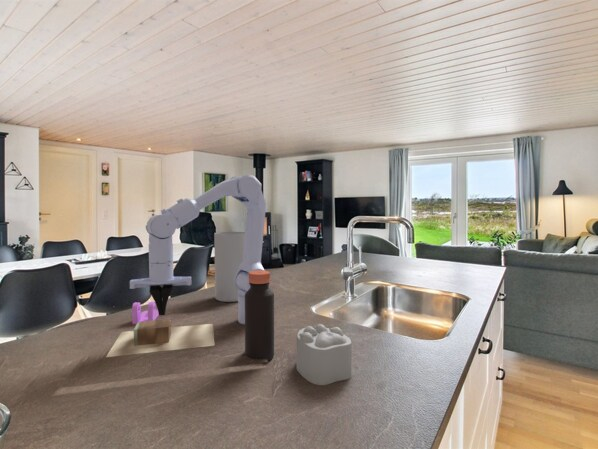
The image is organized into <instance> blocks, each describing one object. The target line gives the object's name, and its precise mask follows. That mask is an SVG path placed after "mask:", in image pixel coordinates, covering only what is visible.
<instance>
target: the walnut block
mask: <svg viewBox="0 0 598 449" xmlns="http://www.w3.org/2000/svg"><path fill="white" fill-rule="evenodd" d="M171 322H172V320H171V319H169V318H168V319H157V320H156V319H155V320H154V321H142V322H138V323H137V324H135V327H134V328H133V331H134V346H138V345H148V344H158V343H168V342H169V340H170V336H171V327H172V324H171Z"/></svg>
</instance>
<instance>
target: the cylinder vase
mask: <svg viewBox="0 0 598 449" xmlns="http://www.w3.org/2000/svg"><path fill="white" fill-rule="evenodd" d="M213 239H214V298H215V300H216V301H218V302H222V303H235V302H238V288H237V287H236V285H235V276H236V275H237V273H238V269H239V265H240V264H241V263H242V261H243V253H244V242H245V231H219V232H214V238H213Z"/></svg>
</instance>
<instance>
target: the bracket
mask: <svg viewBox="0 0 598 449" xmlns="http://www.w3.org/2000/svg"><path fill="white" fill-rule="evenodd" d="M131 307H132V308H131V314H132V316H131V319H132V325H137V323H138V322H142V321H154V320H156V319H157V318H158V317H159V313H158V309H156V308H157V306H156V303H155V301H149V302H148V303H147V309H146V310H144V311H142V309H141V307H142V305H141V302H133V303H132V306H131Z"/></svg>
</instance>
